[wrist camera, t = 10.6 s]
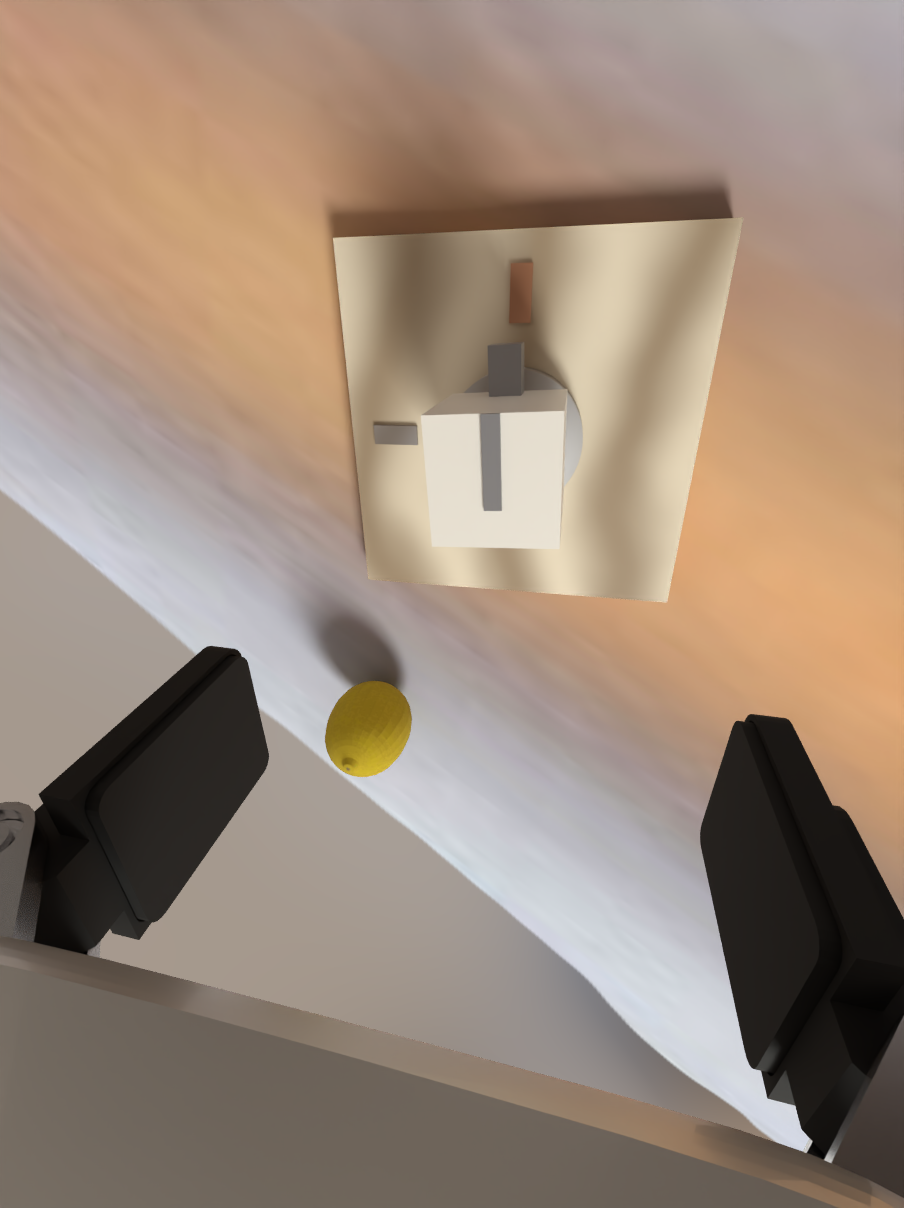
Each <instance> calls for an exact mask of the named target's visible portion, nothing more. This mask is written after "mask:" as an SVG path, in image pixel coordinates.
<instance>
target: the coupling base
mask: <svg viewBox="0 0 904 1208" xmlns="http://www.w3.org/2000/svg"><path fill="white" fill-rule="evenodd" d="M742 222H743V218H725V219H704V220H684V221H664V222H644V223H624V224H604V225H583V226H563V227H543V228H523V229H503V230H482V231H462V232H442V233H422V234H402V235H382V236H361V237H341V238H333V243H334V253H335V263H336V272H337V282H338V291H339V301H340V311H341V320H342V330H343V340H344V349H345V359H346V368H347V378H348V388H349V397H350V407H351V417H352V426H353V436H354V446H355V455H356V465H357V474H358V484H359V494H360V503H361V513H362V523H363V532H364V542H365V551H366V561H367V571H368V579H369V580H382V581H395V582H408V583H421V584H434V585H447V586H460V587H473V588H486V589H499V590H512V591H525V592H538V593H551V594H564V595H577V596H590V597H603V598H616V599H629V600H642V601H655V602H667V600H668V595H669V590H670V585H671V580H672V575H673V570H674V565H675V560H676V555H677V549H678V544H679V539H680V534H681V529H682V524H683V519H684V514H685V509H686V504H687V499H688V494H689V489H690V484H691V479H692V474H693V469H694V464H695V459H696V454H697V449H698V444H699V439H700V434H701V429H702V424H703V419H704V414H705V408H706V403H707V398H708V393H709V388H710V383H711V378H712V373H713V368H714V363H715V358H716V353H717V348H718V343H719V338H720V333H721V328H722V323H723V318H724V313H725V308H726V303H727V298H728V293H729V288H730V283H731V278H732V273H733V267H734V262H735V257H736V252H737V247H738V242H739V237H740V232H741V227H742ZM513 342H524V391H529V390H554V389H568V390H567V416H566V443H565V470H564V496H563V512H562V525H561V537H560V549H524V548H477V547H432V542H431V530H430V519H429V507H428V495H427V483H426V472H425V460H424V448H423V436H422V425H421V415H422V414H424V413H425V412H427V411H428V410H430V409H431V408H433V407H434V406H436V405H437V404H439V403H440V402H442V401H443V400H444V399H446V398H447V397H449V396H450V395H452V394H455V393H480V392H489V383H488V345H490V344H496V343H513Z"/></svg>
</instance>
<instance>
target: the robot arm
mask: <svg viewBox="0 0 904 1208" xmlns="http://www.w3.org/2000/svg"><path fill="white" fill-rule="evenodd" d="M268 759H269V753H268V748H267V744H266V740H265V735H264V731H263V727H262V722H261V718H260V714H259V709H258V705H257V701H256V696H255V692H254V687H253V683H252V679H251V674H250V670H249V666H248V662H247V660H246V659H245V658H244V657H242V656H241V654H240V652H239V651H238V650H236V649H231V648H223V647H215V646H208V647H206V648H204V649H203V650H202V651H201V652H199V653H198V654H197V655H196V656H195V657H194V658H193V659H192V660H190V661H189V662H188V663H187V664H186V665H185V666H184V667H183V668H181V669H180V670H179V671H178V672H177V673H176V674H175V675H173V676H172V677H171V678H170V679H169V680H168V681H167V682H165V683H164V684H163V685H162V686H161V687H160V688H159V689H157V691H155V692H154V693H153V694H152V695H151V696H150V697H149V698H148V699H146V700H145V701H144V702H143V703H142V704H140V705H139V706H138V707H137V708H136V709H135V710H134V711H133V712H131V713H130V714H129V715H128V716H127V717H126V718H125V719H123V720H122V721H121V722H120V723H119V724H118V725H117V726H115V727H114V728H113V729H112V730H111V731H110V732H109V733H108V734H107V735H106V736H104V737H103V738H102V739H101V740H100V741H98V742H97V743H96V744H95V745H94V746H93V747H92V748H91V749H89V750H88V751H87V752H86V753H85V754H84V755H83V756H81V757H80V758H79V759H78V760H77V761H76V762H75V763H74V764H72V765H71V766H70V767H69V768H68V769H67V770H66V771H65V772H63V773H62V774H61V775H60V776H59V777H58V778H57V779H55V780H54V781H53V782H52V783H51V784H50V785H49V786H48V787H46V788H45V789H44V790H43V791H42V792H41V793H40V794H39V796H40V798H41V800H42V802H43V804H42V805H41V806H40V807H39V808H38V809H37V810H36V811H35V812H34V810H33V809H32V808H31V807H30V806H29V805H27V804H23V803H20V802H4V803H0V1208H904V919H903V917H902V915H901V913H900V911H899V909H898V907H897V905H896V903H895V901H894V900H893V898H892V896H891V894H890V892H889V890H888V888H887V886H886V884H885V882H884V880H883V878H882V877H881V875H880V873H879V871H878V869H877V867H876V865H875V863H874V861H873V859H872V857H871V856H870V854H869V852H868V850H867V848H866V846H865V844H864V842H863V840H862V838H861V836H860V834H859V833H858V831H857V829H856V827H855V825H854V823H853V821H852V819H851V818H850V816H849V815H848V814H847V812H846V811H845V810H844V809H842V808H841V807H840V806H833V805H832V803H831V801H830V799H829V797H828V795H827V793H826V791H825V789H824V787H823V785H822V783H821V781H820V779H819V777H818V775H817V773H816V771H815V769H814V767H813V765H812V763H811V761H810V759H809V757H808V755H807V753H806V751H805V749H804V747H803V745H802V743H801V741H800V739H799V737H798V735H797V733H796V731H795V729H794V727H793V725H792V724H791V722H790V721H789V720H788V719H786V718H779V717H771V716H763V715H755V714H750V715H748V717H747V718H746V720H745V722H743V721H736V722H735V723H734V725H733V728H732V731H731V734H730V737H729V740H728V743H727V747H726V750H725V753H724V756H723V759H722V762H721V765H720V769H719V772H718V775H717V778H716V781H715V784H714V787H713V791H712V794H711V797H710V800H709V803H708V806H707V809H706V813H705V816H704V819H703V822H702V826H701V832H700V842H701V849H702V854H703V858H704V863H705V868H706V872H707V877H708V882H709V886H710V891H711V896H712V900H713V905H714V910H715V914H716V919H717V924H718V928H719V933H720V938H721V942H722V947H723V952H724V956H725V961H726V966H727V970H728V975H729V980H730V984H731V989H732V994H733V998H734V1003H735V1008H736V1012H737V1017H738V1022H739V1026H740V1031H741V1036H742V1040H743V1045H744V1050H745V1053H746V1057H747V1060H748V1062H749V1065H750V1066H751V1067H752V1068H753V1069H756V1070H760V1071H761V1072H762V1076H763V1081H764V1085H765V1089H766V1094H767V1098H768V1099H772V1100H776V1101H779V1102H783V1103H787V1104H791V1105H795V1106H796V1110H797V1114H798V1118H799V1121H800V1125H801V1129H802V1130H803V1131H804V1132H805V1134H806V1135H807V1136H808V1137H809V1138H810V1139H809V1141H808V1142H807V1144H806V1146H805V1148H804V1150H803V1152H802V1151H799V1150H796V1149H793V1148H790V1147H787V1146H785V1145H782V1144H779V1143H776V1142H773V1141H770V1140H767V1139H764V1138H761V1137H758V1136H755V1135H752V1134H750V1133H746V1132H743V1131H741V1130H738V1129H734V1128H731V1127H727V1126H723V1125H720V1124H717V1123H713V1122H710V1121H706V1120H703V1119H700V1118H696V1117H693V1116H689V1115H686V1114H682V1113H679V1112H675V1111H672V1110H668V1109H665V1108H661V1107H658V1106H654V1105H651V1104H648V1103H644V1102H640V1101H637V1100H634V1099H630V1098H627V1097H623V1096H620V1095H617V1094H613V1093H609V1092H606V1091H602V1090H599V1089H594V1088H591V1087H587V1086H584V1085H580V1084H576V1083H572V1082H569V1081H565V1080H561V1079H558V1078H554V1077H550V1076H547V1075H543V1074H539V1073H535V1072H532V1071H528V1070H524V1069H521V1068H517V1067H513V1066H509V1065H506V1064H502V1063H498V1062H495V1061H491V1060H487V1059H483V1058H480V1057H476V1056H472V1055H469V1054H465V1053H461V1052H457V1051H454V1050H450V1049H446V1048H442V1047H439V1046H435V1045H431V1044H428V1043H424V1042H420V1041H416V1040H413V1039H409V1038H405V1037H401V1036H398V1035H393V1034H390V1033H386V1032H382V1031H378V1030H375V1029H371V1028H367V1027H363V1026H360V1025H356V1024H352V1023H348V1022H344V1021H341V1020H337V1019H333V1018H329V1017H326V1016H321V1015H318V1014H314V1013H310V1012H307V1011H302V1010H299V1009H295V1008H291V1007H287V1006H284V1005H280V1004H276V1003H272V1002H269V1001H265V1000H261V999H257V998H253V997H250V996H246V995H241V994H238V993H234V992H230V991H227V990H223V989H218V988H215V987H211V986H207V985H203V984H199V983H195V982H192V981H188V980H184V979H180V978H176V977H172V976H168V975H164V974H161V973H157V972H153V971H148V970H145V969H141V968H137V967H133V966H129V965H126V964H121V963H118V962H114V961H110V960H106V959H102V958H100V941H101V939H102V938H103V937H104V935H105V934H106V933H107V932H108V930H109V929H111V931H112V933H114V934H118V935H122V936H126V937H130V938H134V939H137V940H139V939H140V938H141V937H142V935H143V934H144V932H145V931H146V929H147V928H148V927H149V925H150V924H151V923H152V922H156V921H158V920H159V919H160V918H161V917H162V916H163V915H164V914H165V913H166V911H167V910H168V908H169V907H170V906H171V904H172V903H173V901H174V900H175V898H176V897H177V896H178V894H179V893H180V891H181V890H182V888H183V887H184V886H185V884H186V883H187V881H188V880H189V878H190V877H191V876H192V874H193V873H194V871H195V870H196V868H197V867H198V866H199V864H200V863H201V861H202V860H203V858H204V857H205V856H206V854H207V853H208V851H209V850H210V848H211V847H212V846H213V844H214V843H215V841H216V840H217V838H218V837H219V836H220V834H221V832H222V831H223V830H224V828H225V827H226V826H227V824H228V823H229V821H230V820H231V818H232V817H233V816H234V814H235V813H236V811H237V810H238V808H239V807H240V805H241V804H242V803H243V801H244V800H245V798H246V797H247V796H248V794H249V793H250V791H251V790H252V788H253V787H254V786H255V784H256V782H257V781H258V780H259V778H260V777H261V775H262V774H263V773H264V771H265V769H266V767H267V764H268Z"/></svg>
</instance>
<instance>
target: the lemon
mask: <svg viewBox="0 0 904 1208" xmlns="http://www.w3.org/2000/svg"><path fill="white" fill-rule="evenodd" d="M411 721H412V716H411V711H410V706H409V704H408V702H407V700H406V698H405V696H404V695H403V694H402V693H401V692H400V691H399V690H398V689H397V688H395V687H394V686H392V685H390V684H388V683H385V682H382V681H367V682H363V683H360V684H358V685H356V686H354V687H352V688H351V689H349V690H348V691H347V692H346V693H345V694H344V695H343V696H342V697H341V698H340V699H339V700H338V702H337V703H336V705H335V707H334V709H333V710H332V712H331V714H330V717H329V720H328V723H327V728H326V735H325V743H326V748H327V752H328V754H329V756H330V758H331V760H332V761H333V763H334V764H335V765H336V766H337V767H338V768H339V769H340V770H342V771H343V772H345V773H347V774H349V775H352V776H357V777H368V776H372V775H376V774H378V773H380V772H382V771H384V770H386V769H387V768H388V767H389V766H390V765H391V764H392V763H393V762H394V761H395V760H396V759H397V758H398V757H399V755H400V754H401V752H402V751H403V749H404V747H405V745H406V743H407V740H408V738H409V735H410V731H411Z"/></svg>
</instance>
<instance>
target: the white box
mask: <svg viewBox="0 0 904 1208" xmlns="http://www.w3.org/2000/svg"><path fill="white" fill-rule="evenodd" d="M488 383H489V392H480V393H455V394H452V395H450V396H449V397H447V398H446V399H444V400H443V401H442V402H440V403H439V404H437V405H436V406H434V407H433V408H431V409H430V410H428V411H427V412H425V413H424V414H422V415H421V425H422V436H423V448H424V460H425V472H426V483H427V495H428V507H429V519H430V530H431V542H432V547H477V548H524V549H560V537H561V525H562V512H563V496H564V470H565V443H566V416H567V390H568V389H554V390H529V391H524V342H513V343H496V344H490V345H488Z"/></svg>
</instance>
